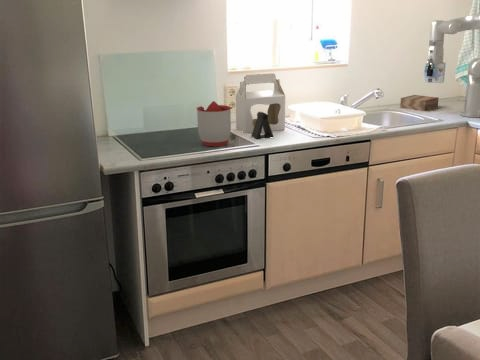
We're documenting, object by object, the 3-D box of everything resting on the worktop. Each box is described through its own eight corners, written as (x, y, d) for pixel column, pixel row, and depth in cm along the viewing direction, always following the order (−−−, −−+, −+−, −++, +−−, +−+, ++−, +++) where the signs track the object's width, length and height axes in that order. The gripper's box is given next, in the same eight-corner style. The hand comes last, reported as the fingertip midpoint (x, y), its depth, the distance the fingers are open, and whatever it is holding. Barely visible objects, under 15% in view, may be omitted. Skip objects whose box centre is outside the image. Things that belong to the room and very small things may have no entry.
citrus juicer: (220, 138, 268) (219, 96, 262) (237, 145, 254) (237, 102, 247) (190, 142, 261) (189, 99, 255) (206, 150, 247) (205, 105, 240)
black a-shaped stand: (268, 135, 273) (268, 110, 270) (273, 137, 268) (273, 112, 264) (251, 136, 270) (251, 112, 266) (256, 139, 265) (256, 114, 261)
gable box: (274, 124, 296) (274, 71, 287) (285, 129, 284) (286, 74, 275) (235, 128, 288) (234, 74, 279) (245, 133, 276) (244, 77, 268)
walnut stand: (437, 107, 337) (438, 97, 335) (424, 111, 326) (425, 100, 324) (413, 104, 348) (414, 94, 346) (400, 107, 337) (400, 97, 335)
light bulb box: (423, 82, 312) (424, 63, 309) (424, 81, 318) (425, 61, 315) (443, 83, 308) (444, 63, 305) (444, 81, 314) (445, 62, 311)
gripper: (434, 44, 298) (432, 77, 304) (450, 42, 310) (447, 74, 315) (422, 44, 304) (419, 76, 309) (437, 42, 315) (434, 73, 320)
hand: (433, 75), depth 312 cm, fingers closed on light bulb box, 8 cm apart
